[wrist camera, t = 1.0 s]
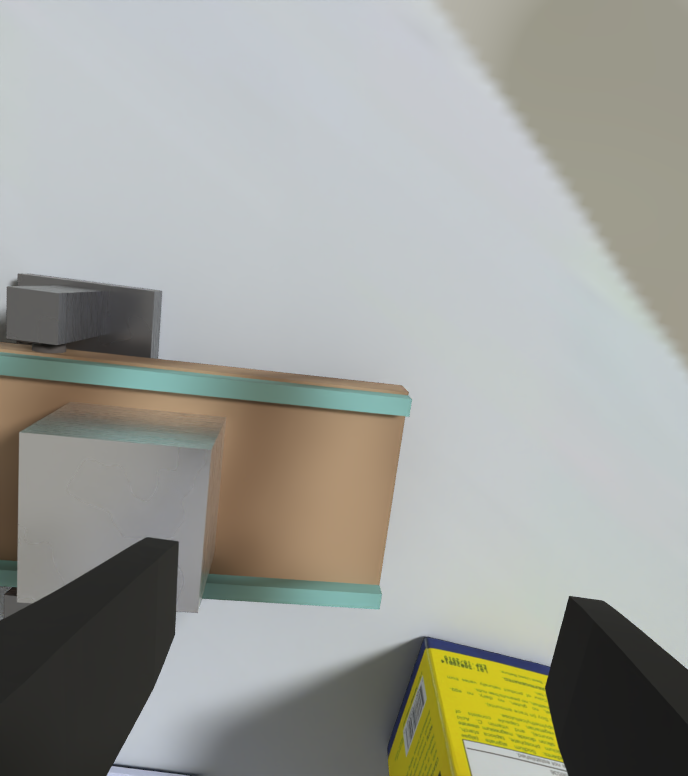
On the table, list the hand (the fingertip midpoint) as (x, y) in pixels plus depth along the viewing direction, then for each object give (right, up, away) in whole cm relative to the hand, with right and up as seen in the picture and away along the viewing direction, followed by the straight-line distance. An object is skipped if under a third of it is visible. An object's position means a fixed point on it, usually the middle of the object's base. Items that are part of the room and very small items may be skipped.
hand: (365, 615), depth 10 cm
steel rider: (-7, +1, +9) cm, 11 cm away
